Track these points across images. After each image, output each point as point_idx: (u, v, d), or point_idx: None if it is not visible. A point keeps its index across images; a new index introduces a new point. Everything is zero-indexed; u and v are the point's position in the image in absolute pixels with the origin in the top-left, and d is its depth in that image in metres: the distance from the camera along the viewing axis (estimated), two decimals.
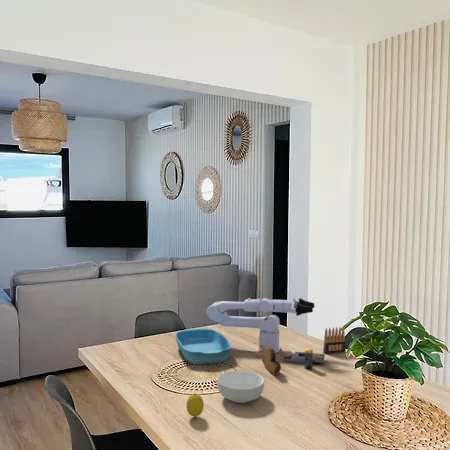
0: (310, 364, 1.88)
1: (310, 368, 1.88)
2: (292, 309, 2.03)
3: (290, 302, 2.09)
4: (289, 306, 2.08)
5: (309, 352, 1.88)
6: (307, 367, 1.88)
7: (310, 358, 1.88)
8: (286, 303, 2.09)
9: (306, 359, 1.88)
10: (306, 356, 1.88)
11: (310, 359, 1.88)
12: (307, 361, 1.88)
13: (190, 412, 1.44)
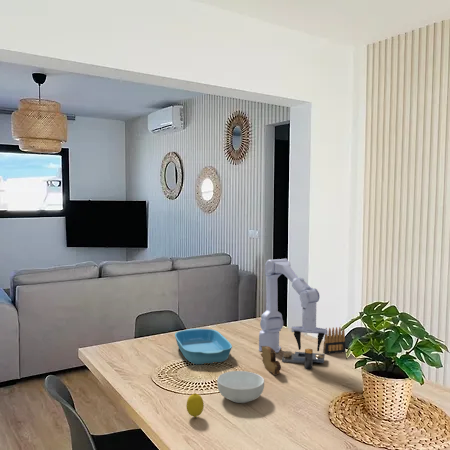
0: (310, 364, 1.88)
1: (310, 368, 1.88)
2: None
3: (304, 326, 1.87)
4: (302, 324, 1.89)
5: (309, 352, 1.88)
6: (307, 367, 1.88)
7: (310, 358, 1.88)
8: (303, 322, 1.87)
9: (306, 359, 1.88)
10: (306, 356, 1.88)
11: (310, 359, 1.88)
12: (307, 361, 1.88)
13: (190, 412, 1.44)
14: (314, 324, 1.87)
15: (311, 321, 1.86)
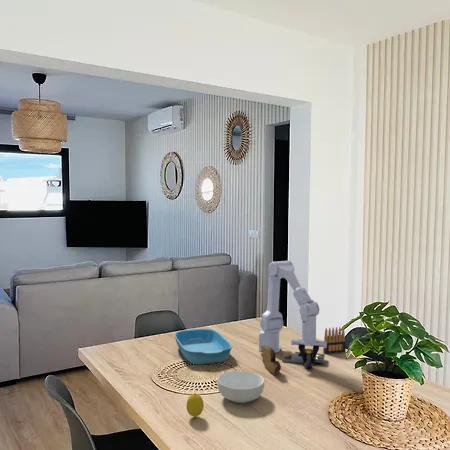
0: (310, 364, 1.88)
1: (310, 368, 1.88)
2: None
3: (304, 339, 1.87)
4: (302, 337, 1.89)
5: (309, 352, 1.88)
6: (307, 367, 1.88)
7: (310, 358, 1.88)
8: (303, 335, 1.88)
9: (306, 359, 1.88)
10: (306, 356, 1.88)
11: (310, 359, 1.88)
12: (307, 361, 1.88)
13: (190, 412, 1.44)
14: (314, 337, 1.87)
15: (311, 334, 1.86)
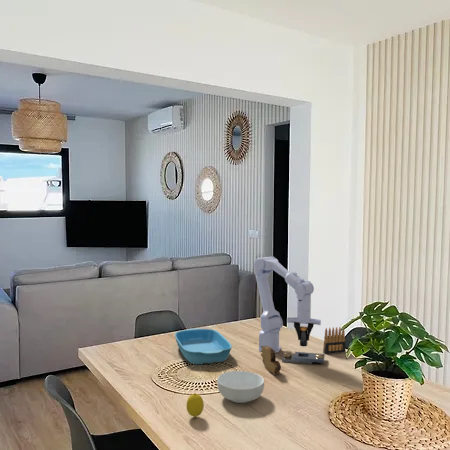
0: (305, 341, 1.97)
1: (305, 345, 1.97)
2: (287, 319, 2.00)
3: (299, 317, 1.96)
4: (297, 315, 1.98)
5: (304, 329, 1.97)
6: (302, 344, 1.97)
7: (305, 335, 1.97)
8: (298, 313, 1.97)
9: (301, 336, 1.97)
10: (301, 333, 1.97)
11: (305, 336, 1.97)
12: (302, 338, 1.97)
13: (190, 412, 1.44)
14: (308, 315, 1.96)
15: (306, 312, 1.95)
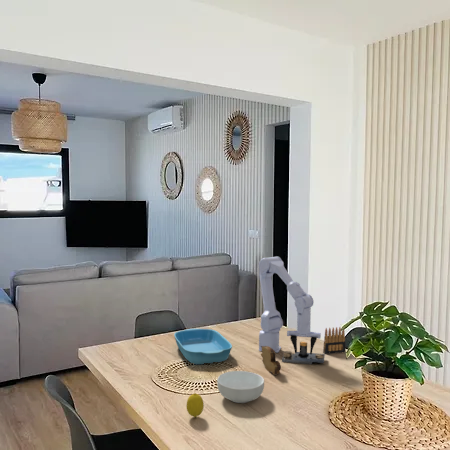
0: (305, 356, 1.97)
1: None
2: (287, 332, 2.00)
3: (299, 331, 1.97)
4: (297, 329, 1.98)
5: (304, 345, 1.97)
6: None
7: (305, 351, 1.97)
8: (298, 326, 1.97)
9: (301, 352, 1.98)
10: (301, 349, 1.98)
11: (305, 352, 1.97)
12: (302, 353, 1.97)
13: (190, 412, 1.44)
14: (308, 328, 1.96)
15: (305, 326, 1.96)
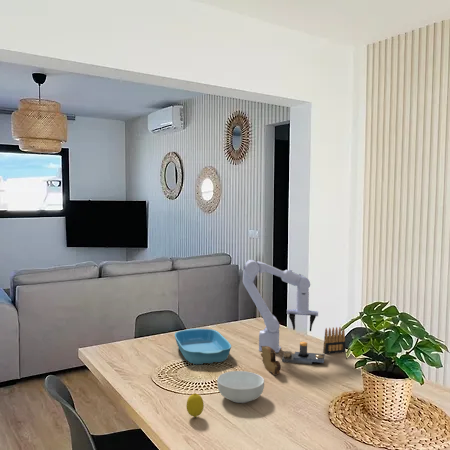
0: (305, 356, 1.97)
1: None
2: (287, 311, 2.15)
3: (298, 309, 2.11)
4: (296, 307, 2.13)
5: (304, 345, 1.97)
6: None
7: (305, 351, 1.97)
8: (297, 305, 2.12)
9: (301, 352, 1.98)
10: (301, 349, 1.98)
11: (305, 352, 1.97)
12: (302, 353, 1.97)
13: (190, 412, 1.44)
14: (307, 307, 2.11)
15: (304, 304, 2.10)
